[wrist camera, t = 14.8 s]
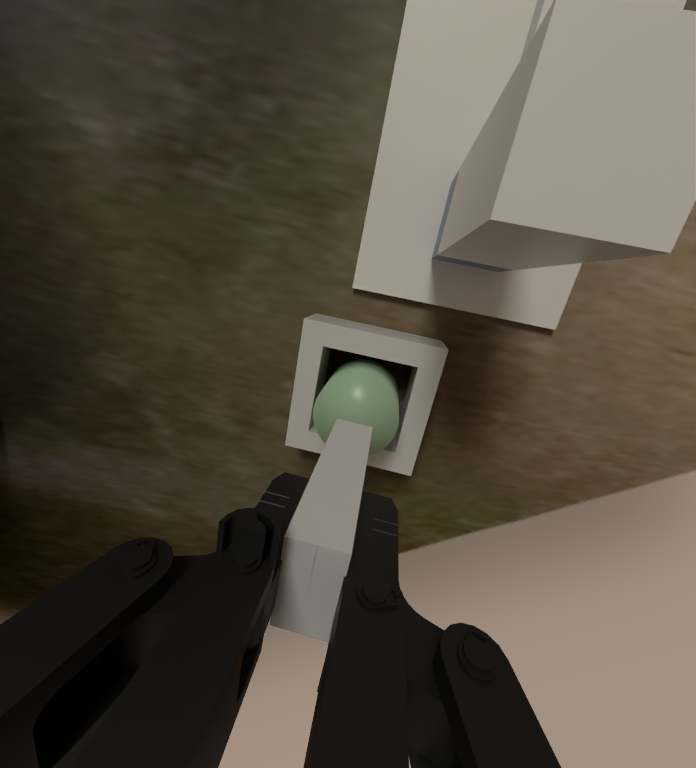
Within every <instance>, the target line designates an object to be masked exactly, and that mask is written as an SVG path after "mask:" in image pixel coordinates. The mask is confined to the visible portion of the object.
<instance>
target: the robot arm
mask: <svg viewBox="0 0 696 768" xmlns="http://www.w3.org/2000/svg"><path fill="white" fill-rule="evenodd" d="M372 429H373V427H369V426H365V425H361V424H357V423H353V422H349V421H344V420H340V419H336V422H335V424H334V426H333V428H332V431H331V433H330V435H329V437H328V440H327V442H326V444H325V446H324V448H323V451H322V453H321V455H320V457H319V460H318V462H317V464H316V466H315V469H314V471H313V473H312V475H311V478H310V479H309V478H305V477H301V476H297V475H293V474H289V473H283V474H281V475H280V476H278V477H277V478H275V479H273V481H272V482H271V484H270V485H269V487H268V488H267V490H266V493H264V495H263V496H262V498H261V500H260V502H259V503H258V504H257V506H256V507H255V508H245V509H238V510H236V511H233V512H231V513H229V514H227V515H226V516H225V517H224V518H223V519H221V520H220V521H219V529H218V540H217V552H214V553H211V554H208V555H199V556H173V551H172V547H171V546H170V545H169V544H168V543H166V542H165V541H163V540H160V539H157V538H139V539H135V540H131V541H127V542H125V543H123V544H121V545H120V546H118V547H116V548H114V549H112V550H111V551H109V552H108V553H106V554H105V555H103V556H102V557H100V558H99V559H97V560H96V561H94V562H93V563H91V564H90V565H88V566H87V567H85V568H84V569H82V570H81V571H79V572H78V573H76V574H75V575H73V576H72V577H71V578H69V579H68V580H66V581H65V582H63V583H62V584H60V585H59V586H57V587H56V588H54V589H53V590H51V591H50V592H48V593H47V594H45V595H44V596H42V597H41V598H39V599H38V600H36V601H35V602H33V603H32V604H30V605H29V606H27V607H26V608H24V609H23V610H21V611H20V612H18V613H17V614H15V615H14V616H12V617H11V618H9V619H8V620H6V621H5V622H4V623H2V624H1V625H0V768H218V766H219V764H220V761H221V758H222V755H223V753H224V750H225V747H226V745H227V742H228V739H229V736H230V734H231V731H232V728H233V725H234V723H235V720H236V717H237V715H238V712H239V709H240V706H241V704H242V701H243V698H244V696H245V693H246V690H247V688H248V685H249V682H250V679H251V676H252V674H253V671H254V668H255V666H256V663H257V660H258V658H259V655H260V652H261V648H262V642H263V636H264V633H265V630H266V627H267V625H268V622H269V619H270V617H271V619H270V625H272V626H275V627H279V628H282V629H286V630H289V631H292V632H296V633H299V634H303V635H306V636H309V637H313V638H316V639H320V640H323V641H326V642H329V644H328V649H327V654H326V658H325V662H324V666H323V670H322V674H321V678H320V682H319V686H318V690H317V692H318V696H317V701H316V706H315V712H314V717H313V722H312V727H311V732H310V737H309V742H308V747H307V752H306V758H305V763H304V768H409V759H410V764H411V768H561V766H560V764H559V762H558V760H557V758H556V756H555V754H554V752H553V750H552V748H551V746H550V744H549V742H548V740H547V738H546V736H545V734H544V732H543V730H542V728H541V726H540V724H539V722H538V720H537V718H536V715H535V713H534V711H533V709H532V707H531V705H530V703H529V701H528V699H527V697H526V695H525V693H524V691H523V689H522V687H521V685H520V683H519V681H518V679H517V677H516V675H515V673H514V671H513V669H512V667H511V665H510V663H509V661H508V659H507V658H506V656H505V654H504V653H503V651H502V650H501V648H500V647H499V645H498V644H497V643H496V642H495V641H494V640H493V639H492V638H491V637H490V636H489V635H488V634H486V633H485V632H483V631H481V630H480V629H478V628H476V627H475V626H472V625H468V624H464V623H457V624H452V625H450V626H449V627H448V628H447V629H446V630H442V629H441V628H439V627H438V626H436V625H434V624H433V623H431V622H429V621H428V620H426V619H424V618H423V617H422V616H421V615H419V614H418V613H416V612H415V611H414V609H413V608H412V607H411V606H410V605H409V604H408V603H407V601H406V600H405V598H404V596H403V594H402V592H401V590H400V587H399V580H398V510H397V508H396V506H395V504H394V503H393V501H392V499H391V498H387V497H383V496H379V495H376V494H372V493H368V492H364V491H362V489H363V483H364V477H365V471H366V465H367V459H368V453H369V447H370V441H371V435H372Z"/></svg>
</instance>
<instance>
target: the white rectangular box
mask: <svg viewBox="0 0 696 768" xmlns="http://www.w3.org/2000/svg"><path fill="white" fill-rule="evenodd" d="M695 201H696V11H689V10H682V9H674V8H667V7H660V6H652V5H645V4H638V3H630V2H623V1H616V0H554V1H553V3H552V5H551V7H550V8H549V10H548V12H547V14H546V15H545V17H544V19H543V21H542V23H541V24H540V26H539V28H538V30H537V32H536V33H535V35H534V37H533V39H532V40H531V42H530V44H529V46H528V48H527V49H526V51H525V53H524V55H523V56H522V58H521V60H520V62H519V64H518V65H517V67H516V69H515V71H514V72H513V74H512V76H511V78H510V80H509V81H508V83H507V85H506V87H505V88H504V90H503V92H502V94H501V96H500V97H499V99H498V101H497V103H496V104H495V106H494V108H493V110H492V112H491V113H490V115H489V117H488V119H487V121H486V122H485V124H484V126H483V128H482V129H481V131H480V133H479V135H478V137H477V138H476V140H475V142H474V144H473V145H472V147H471V149H470V151H469V153H468V154H467V156H466V158H465V160H464V161H463V163H462V165H461V167H460V169H459V170H458V172H457V174H456V176H455V177H454V179H453V181H452V183H451V186H450V190H449V194H448V197H447V201H446V205H445V209H444V213H443V217H442V221H441V224H440V228H439V232H438V236H437V240H436V244H435V248H434V252H433V255H432V259H436V260H441V261H446V262H451V263H456V264H461V265H466V266H471V267H476V268H481V269H486V270H491V271H496V272H504V271H513V270H522V269H531V268H540V267H549V266H558V265H567V264H576V263H585V262H594V261H604V260H613V259H622V258H631V257H640V256H649V255H658V254H667V253H671V251H672V249H673V247H674V245H675V243H676V241H677V239H678V236H679V234H680V232H681V230H682V228H683V226H684V224H685V222H686V220H687V218H688V215H689V213H690V211H691V209H692V207H693V205H694V203H695Z"/></svg>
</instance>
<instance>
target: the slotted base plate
mask: <svg viewBox="0 0 696 768" xmlns="http://www.w3.org/2000/svg"><path fill="white" fill-rule="evenodd" d="M553 1H554V0H407V4H406V9H405V14H404V20H403V25H402V30H401V35H400V41H399V46H398V51H397V56H396V62H395V67H394V72H393V77H392V83H391V88H390V93H389V98H388V104H387V109H386V114H385V119H384V125H383V130H382V135H381V140H380V146H379V151H378V156H377V161H376V167H375V172H374V177H373V182H372V188H371V193H370V198H369V203H368V209H367V214H366V219H365V224H364V230H363V235H362V240H361V245H360V251H359V256H358V261H357V266H356V272H355V277H354V282H353V287H352V288H356V289H360V290H365V291H370V292H375V293H380V294H384V295H389V296H394V297H399V298H404V299H409V300H413V301H418V302H423V303H428V304H433V305H437V306H442V307H447V308H452V309H457V310H461V311H466V312H471V313H476V314H481V315H485V316H490V317H495V318H500V319H505V320H510V321H514V322H519V323H524V324H529V325H534V326H538V327H543V328H548V329H553V330H556V327H557V325H558V322H559V320H560V317H561V315H562V312H563V310H564V307H565V305H566V302H567V300H568V297H569V295H570V292H571V290H572V287H573V285H574V282H575V280H576V277H577V275H578V272H579V269H580V267H581V264H582V263H576V264H567V265H558V266H549V267H540V268H531V269H522V270H513V271H504V272H496V271H491V270H486V269H481V268H476V267H471V266H466V265H461V264H456V263H451V262H446V261H441V260H436V259H432V255H433V252H434V248H435V244H436V240H437V236H438V232H439V228H440V224H441V221H442V217H443V213H444V209H445V205H446V201H447V197H448V194H449V190H450V186H451V183H452V181H453V179H454V177H455V176H456V174H457V172H458V170H459V169H460V167H461V165H462V163H463V161H464V160H465V158H466V156H467V154H468V153H469V151H470V149H471V147H472V145H473V144H474V142H475V140H476V138H477V137H478V135H479V133H480V131H481V129H482V128H483V126H484V124H485V122H486V121H487V119H488V117H489V115H490V113H491V112H492V110H493V108H494V106H495V104H496V103H497V101H498V99H499V97H500V96H501V94H502V92H503V90H504V88H505V87H506V85H507V83H508V81H509V80H510V78H511V76H512V74H513V72H514V71H515V69H516V67H517V65H518V64H519V62H520V60H521V58H522V56H523V55H524V53H525V51H526V49H527V48H528V46H529V44H530V42H531V40H532V39H533V37H534V35H535V33H536V32H537V30H538V28H539V26H540V24H541V23H542V21H543V19H544V17H545V15H546V14H547V12H548V10H549V8H550V7H551V5H552V3H553ZM616 1H623V2H630V3H638V4H645V5H652V6H660V7H667V8H674V9H682V10H683V8H684V6H685V3H686V1H687V0H616Z"/></svg>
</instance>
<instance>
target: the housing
mask: <svg viewBox="0 0 696 768" xmlns="http://www.w3.org/2000/svg"><path fill="white" fill-rule="evenodd" d="M331 348H333V349H338V350H342V351H347V352H351V353H356V354H360V355H365V356H369V357H374V358H378V359H383V360H387V361H392V362H396V363H401V364H405V365H410V366H412V369H411V373H410V377H409V381H408V384H407V388H406V392H405V396H404V399H403V403H402V407H401V411H400V414H399V425H398V429H397V432H396V435H395V436H394V438H393V440H392V441H391V442H390V443H389V444H388V446H386V447H385V448H384V449H383V450H381V451H379V452H377V453H375V454H372V455H369V456H368V459H367V465H368V466H372V467H376V468H380V469H384V470H388V471H392V472H396V473H400V474H404V475H408V476H411V474H412V471H413V468H414V464H415V461H416V458H417V454H418V451H419V447H420V444H421V441H422V437H423V434H424V431H425V427H426V424H427V421H428V417H429V414H430V411H431V407H432V404H433V401H434V397H435V394H436V391H437V387H438V384H439V381H440V377H441V374H442V371H443V367H444V364H445V361H446V357H447V354H448V350H449V349H448V348H447V347H446V346H445V344H444V343H443V342H442V341H441V340H437V339H432V338H428V337H423V336H419V335H414V334H409V333H405V332H400V331H395V330H391V329H386V328H381V327H377V326H372V325H368V324H363V323H358V322H354V321H349V320H344V319H340V318H335V317H330V316H326V315H321V314H314V315H311V316H309V317H306V318H304V322H303V329H302V335H301V342H300V349H299V356H298V362H297V369H296V376H295V382H294V389H293V396H292V402H291V409H290V416H289V423H288V429H287V436H286V443H285V445H287V446H291V447H295V448H299V449H303V450H307V451H311V452H315V453H319V454H321V453H322V451H323V448H324V446H325V444H326V443H324V441H323V440H322V439H321V438H320V436H319V435H318V433H317V431H316V428H315V425H314V421H313V408H314V404H315V401H316V399H317V397H318V395H319V393H320V392H321V391H322V389H323V388H324V383H325V378H326V372H327V367H328V361H329V355H330V350H331Z"/></svg>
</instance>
